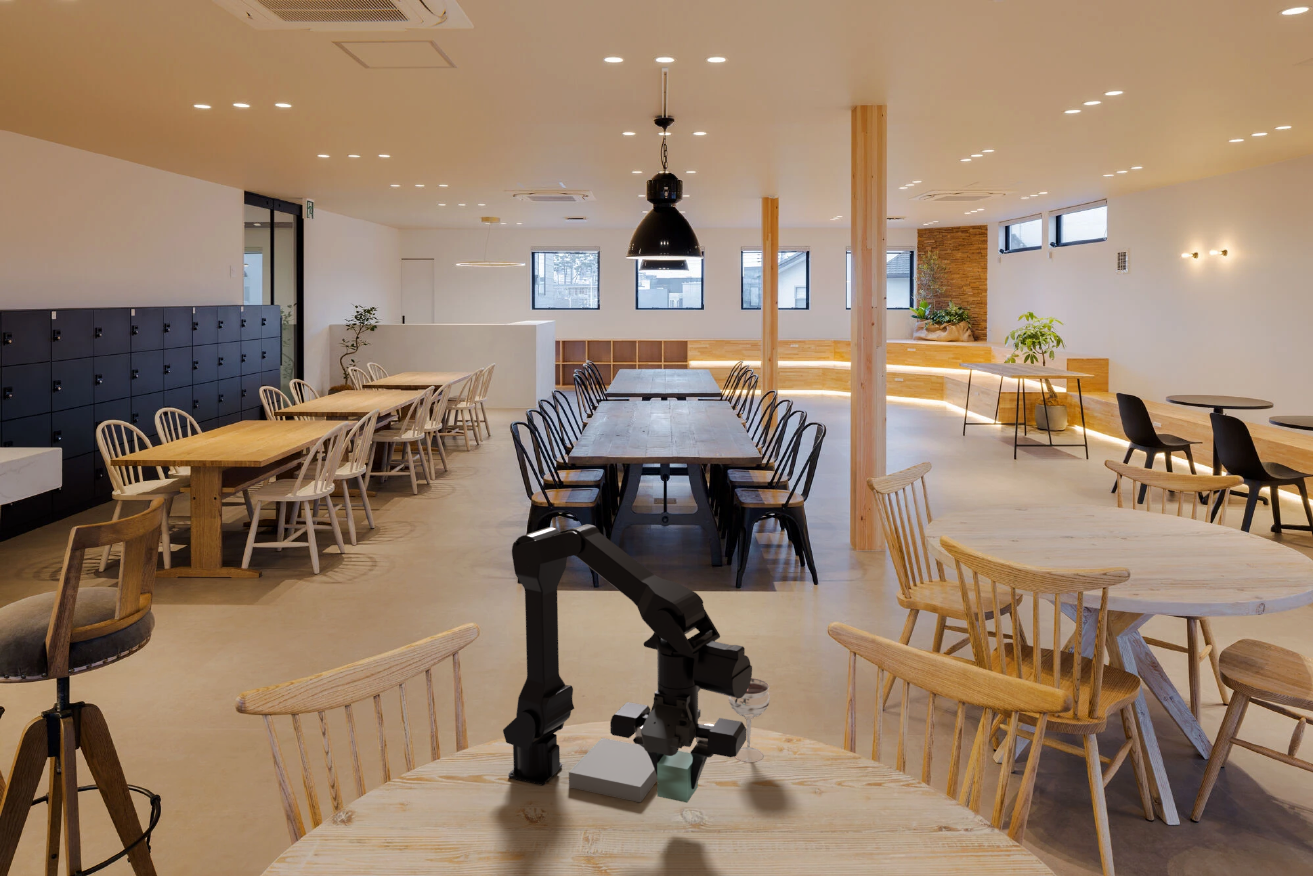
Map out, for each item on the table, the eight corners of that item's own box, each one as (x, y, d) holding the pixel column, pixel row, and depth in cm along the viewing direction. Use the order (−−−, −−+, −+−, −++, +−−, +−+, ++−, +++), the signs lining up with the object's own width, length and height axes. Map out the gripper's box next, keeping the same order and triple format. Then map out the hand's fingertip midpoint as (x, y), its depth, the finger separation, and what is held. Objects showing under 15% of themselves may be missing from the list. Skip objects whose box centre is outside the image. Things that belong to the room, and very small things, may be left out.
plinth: (569, 787, 140) (568, 772, 140) (602, 751, 151) (601, 737, 151) (640, 802, 135) (640, 787, 135) (669, 765, 146) (669, 750, 146)
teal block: (657, 796, 128) (657, 763, 127) (668, 781, 132) (668, 749, 132) (687, 802, 126) (687, 769, 126) (697, 787, 131) (697, 754, 130)
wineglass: (722, 760, 148) (723, 690, 146) (734, 741, 154) (735, 674, 152) (762, 768, 145) (763, 697, 144) (773, 748, 152) (774, 681, 150)
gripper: (592, 693, 123) (594, 800, 125) (724, 715, 116) (723, 828, 118) (625, 663, 133) (626, 762, 135) (748, 682, 126) (746, 786, 129)
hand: (677, 784), depth 129 cm, fingers closed on teal block, 4 cm apart
